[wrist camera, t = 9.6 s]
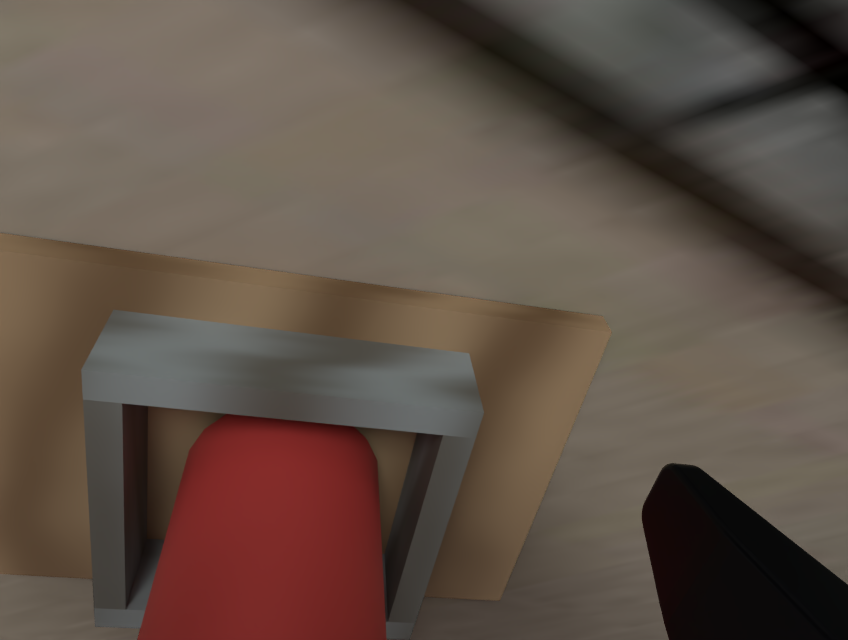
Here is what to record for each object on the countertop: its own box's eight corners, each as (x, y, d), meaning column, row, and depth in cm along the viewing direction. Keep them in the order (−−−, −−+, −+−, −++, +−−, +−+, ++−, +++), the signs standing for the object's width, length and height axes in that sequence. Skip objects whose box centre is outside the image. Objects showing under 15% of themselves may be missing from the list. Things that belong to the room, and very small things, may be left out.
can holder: (602, 316, 24) (644, 389, 20) (495, 581, 31) (513, 667, 28) (-45, 227, 20) (-123, 298, 17) (4, 551, 27) (-44, 647, 24)
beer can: (409, 425, 24) (453, 816, 14) (334, 544, 27) (326, 939, 17) (224, 364, 22) (123, 772, 12) (164, 500, 25) (42, 920, 15)
